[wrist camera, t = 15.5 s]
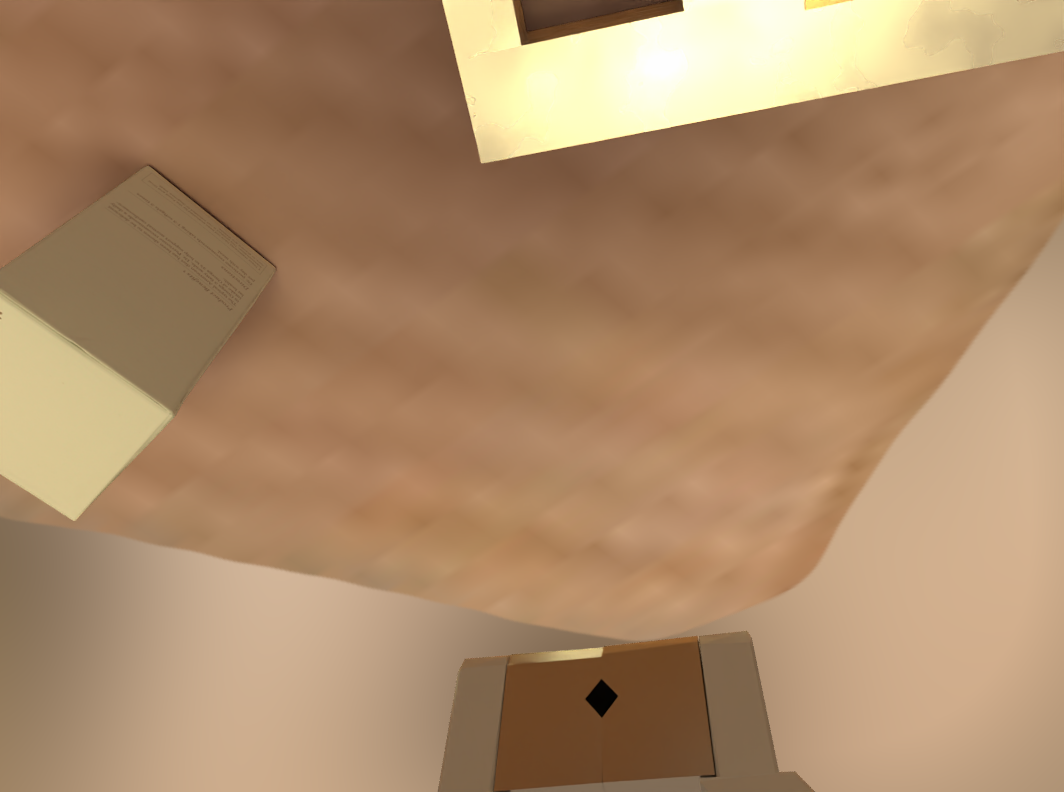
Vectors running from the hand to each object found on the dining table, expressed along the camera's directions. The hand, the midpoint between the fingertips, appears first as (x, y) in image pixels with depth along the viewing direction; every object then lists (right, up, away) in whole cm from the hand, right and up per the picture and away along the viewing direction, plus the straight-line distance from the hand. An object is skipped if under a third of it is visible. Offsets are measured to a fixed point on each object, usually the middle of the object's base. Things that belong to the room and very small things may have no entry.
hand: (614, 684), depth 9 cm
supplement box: (-18, +9, +33) cm, 38 cm away
